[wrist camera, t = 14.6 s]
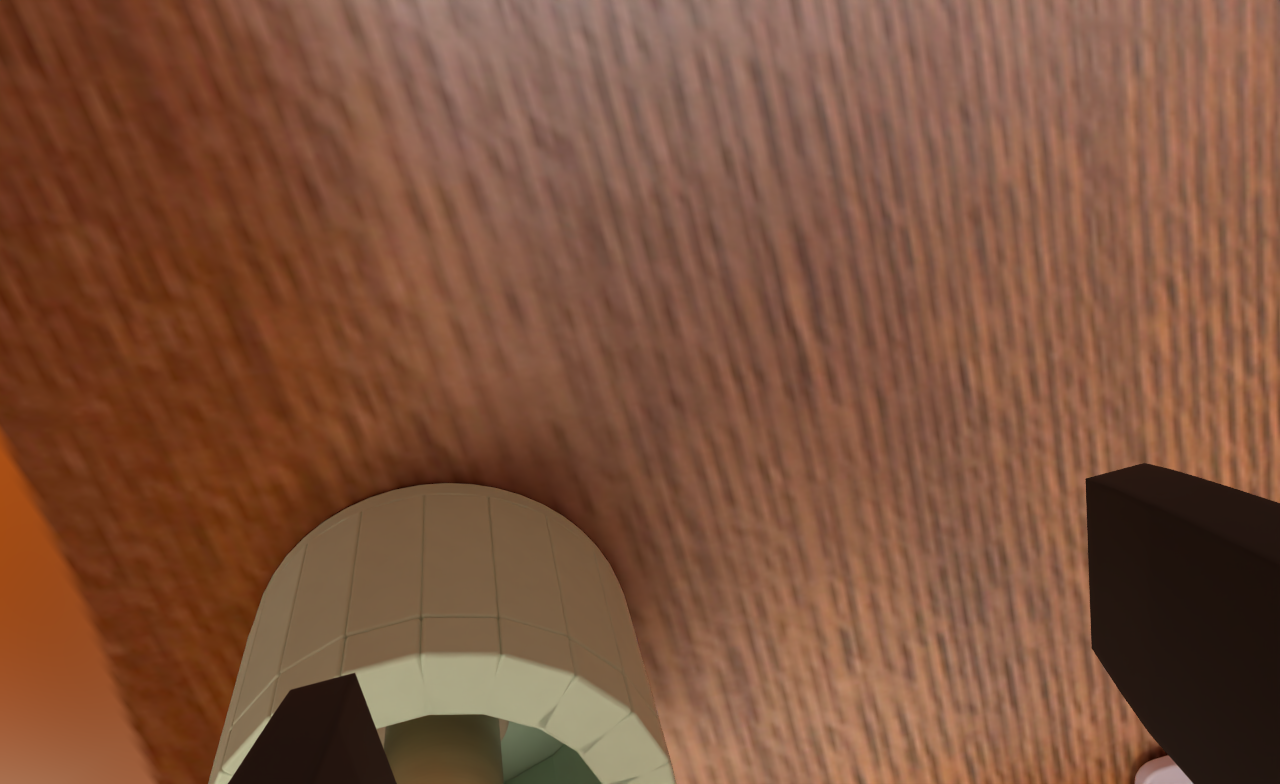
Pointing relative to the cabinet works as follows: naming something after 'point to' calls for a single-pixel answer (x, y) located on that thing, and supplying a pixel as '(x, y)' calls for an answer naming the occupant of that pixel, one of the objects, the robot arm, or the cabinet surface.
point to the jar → (460, 633)
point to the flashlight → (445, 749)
